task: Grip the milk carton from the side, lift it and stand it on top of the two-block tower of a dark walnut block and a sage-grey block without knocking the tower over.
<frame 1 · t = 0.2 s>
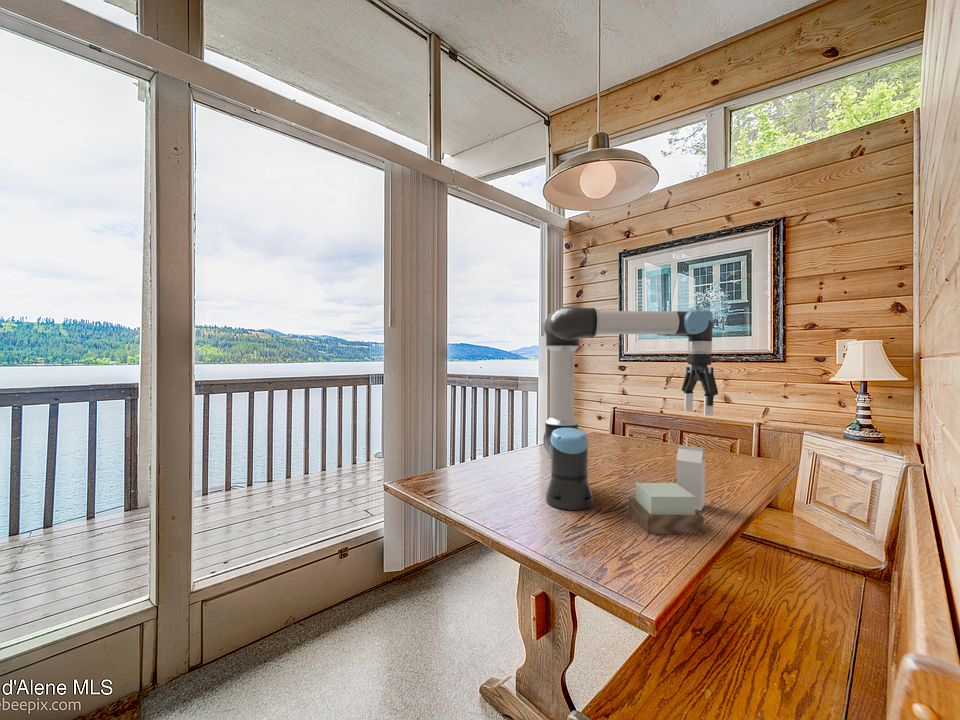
hand: (697, 413, 147), 27 cm above the table, tool pointing down, fingers open, 13 cm apart
tower top: (663, 506, 119), point 4 cm above the table, touching tower base
milk carton: (690, 506, 131), on the table
tower base: (663, 523, 119), on the table, touching tower top
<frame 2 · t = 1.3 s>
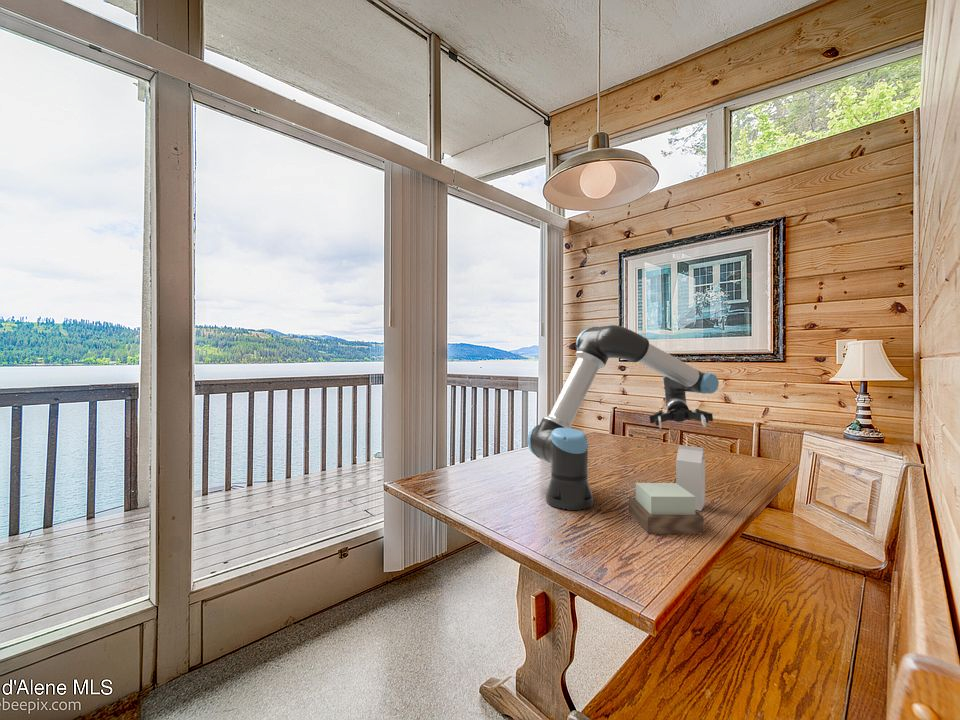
hand: (682, 423, 139), 25 cm above the table, tool horizontal, fingers open, 13 cm apart
nothing on the table moved.
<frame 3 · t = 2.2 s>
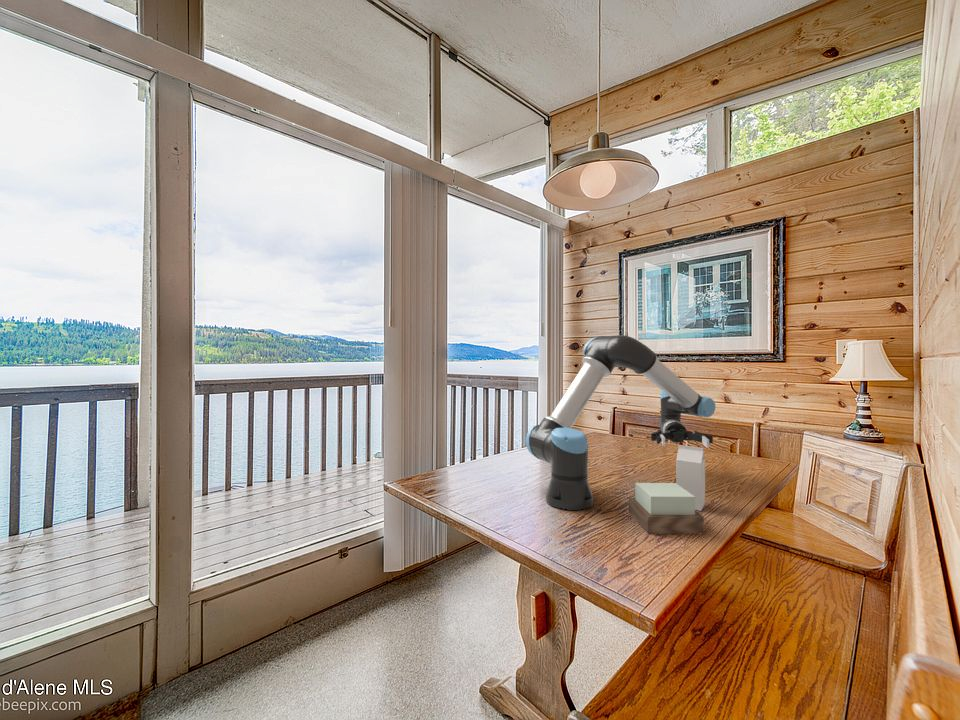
hand: (685, 442, 141), 18 cm above the table, tool horizontal, fingers open, 13 cm apart
nothing on the table moved.
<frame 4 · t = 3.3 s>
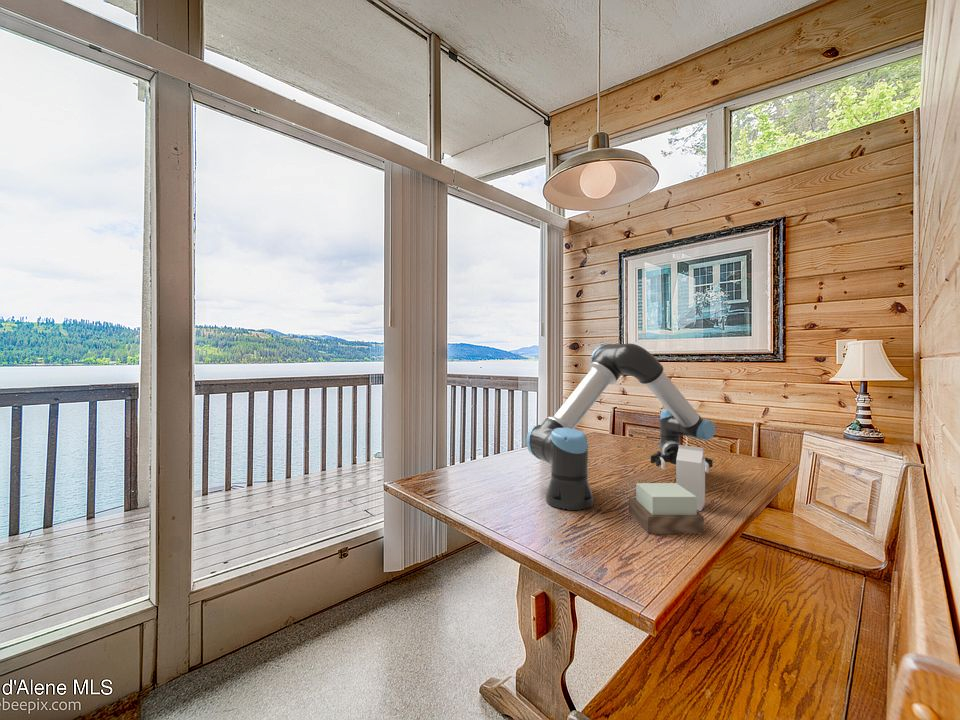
hand: (685, 467, 140), 10 cm above the table, tool horizontal, fingers open, 13 cm apart
nothing on the table moved.
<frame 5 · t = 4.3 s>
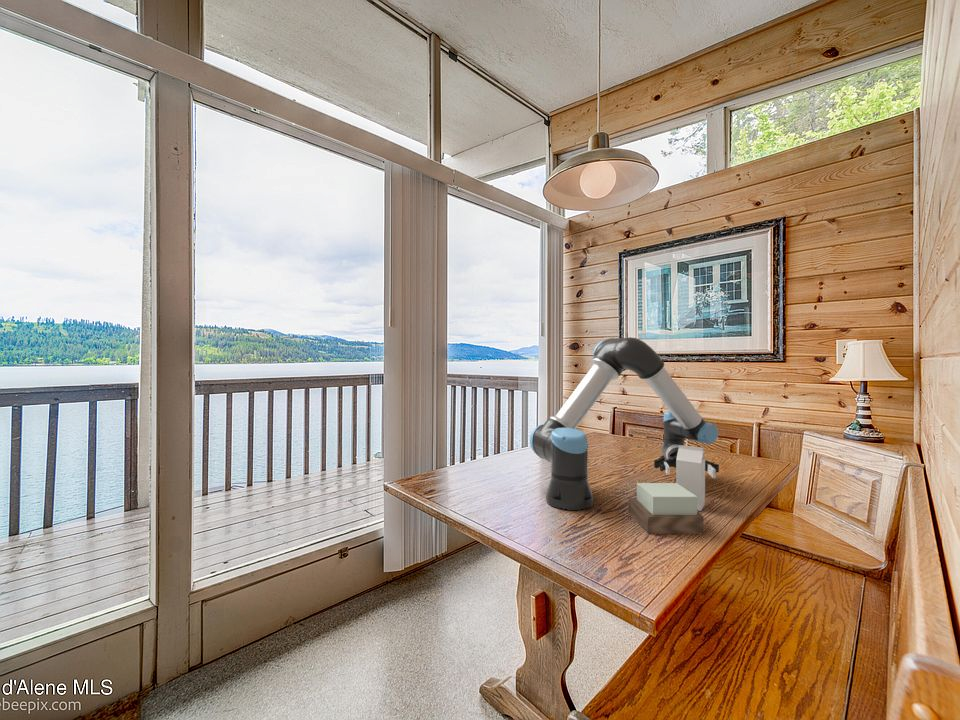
hand: (690, 472, 134), 10 cm above the table, tool horizontal, fingers open, 13 cm apart
nothing on the table moved.
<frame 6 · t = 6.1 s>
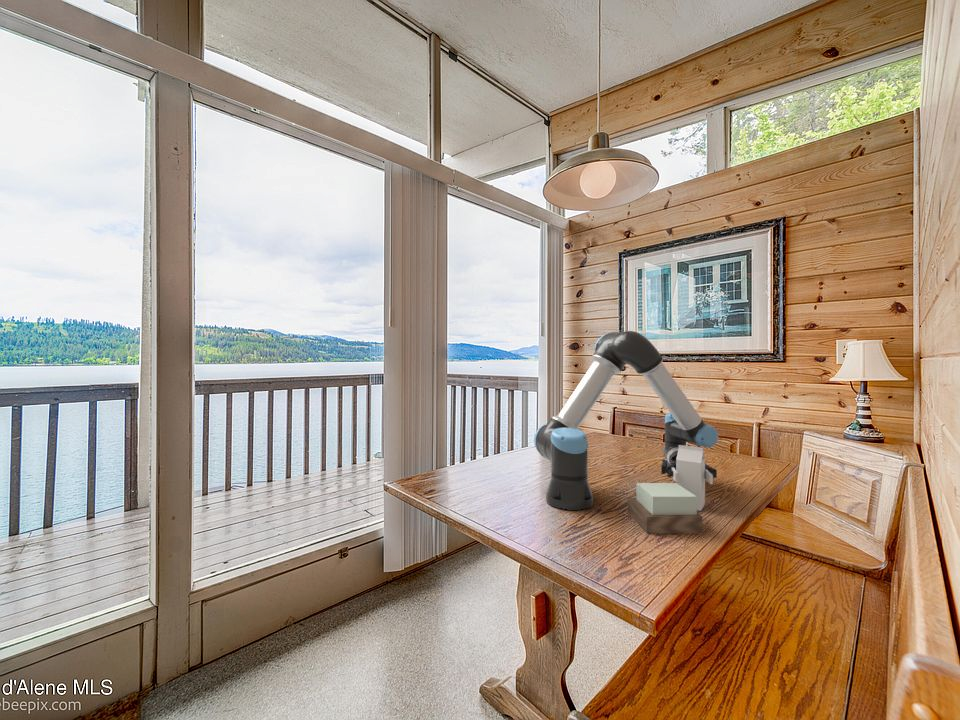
hand: (693, 478, 127), 10 cm above the table, tool horizontal, fingers closed on milk carton, 9 cm apart
tower top: (664, 506, 119), point 4 cm above the table
milk carton: (690, 506, 131), on the table, touching gripper
tower base: (662, 523, 119), on the table
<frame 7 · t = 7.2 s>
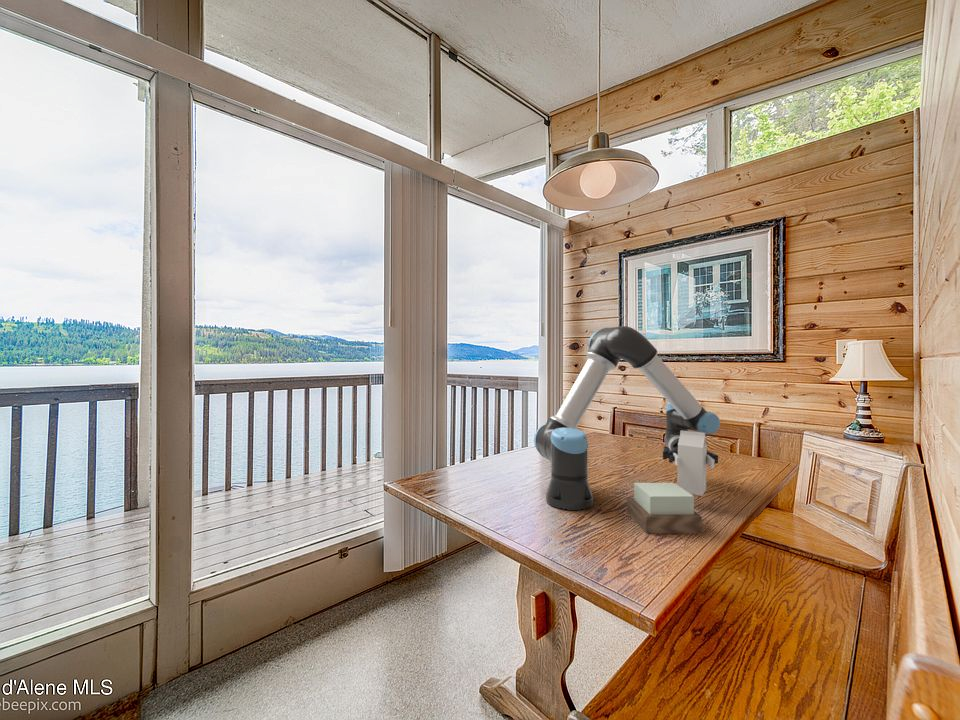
hand: (695, 463, 127), 15 cm above the table, tool horizontal, fingers closed on milk carton, 9 cm apart
tower top: (662, 506, 119), point 4 cm above the table, touching tower base
milk carton: (691, 491, 131), point 4 cm above the table, touching gripper
tower base: (662, 523, 119), on the table, touching tower top
when the fingers open (21 cm above the table, at t = 11.6 s): milk carton drops 2 cm, point 10 cm above the table.
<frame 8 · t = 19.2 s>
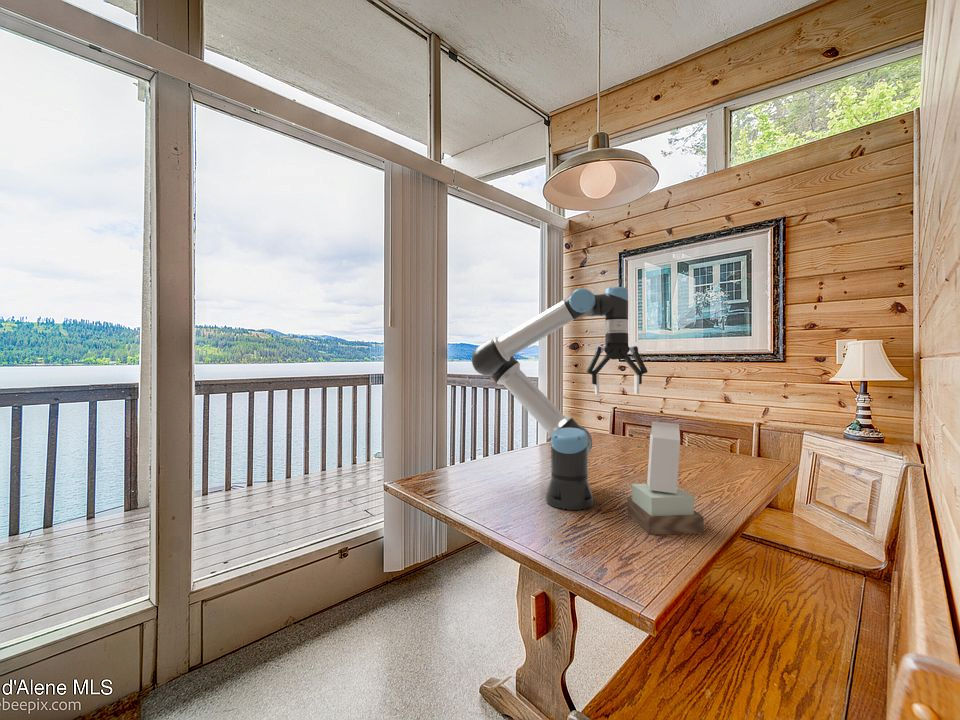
hand: (616, 394, 142), 35 cm above the table, tool pointing down, fingers open, 13 cm apart
milk carton: (661, 489, 118), point 10 cm above the table
at the end: milk carton 0.6 cm off-centre on the tower base, point 10.1 cm above the tower base's base; milk carton tilted 4°; tower top 0.4 cm off-centre on the tower base, point 5.0 cm above the tower base's base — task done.
